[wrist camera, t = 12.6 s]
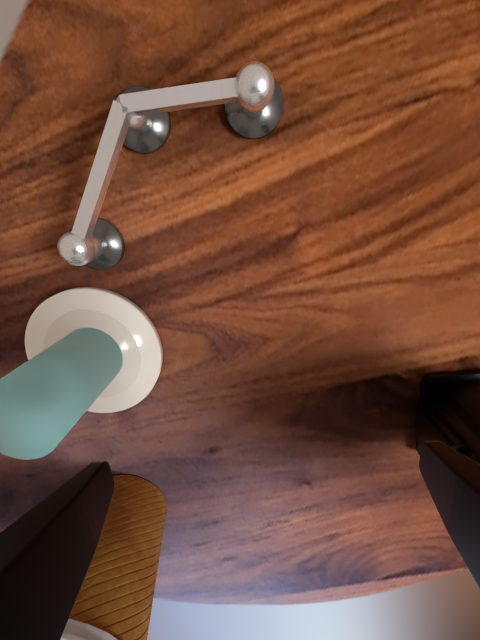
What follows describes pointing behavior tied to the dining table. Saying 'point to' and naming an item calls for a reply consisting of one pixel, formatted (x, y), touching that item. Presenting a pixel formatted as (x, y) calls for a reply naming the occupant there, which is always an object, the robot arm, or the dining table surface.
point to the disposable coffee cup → (122, 567)
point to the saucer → (118, 322)
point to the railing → (151, 134)
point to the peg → (54, 391)
